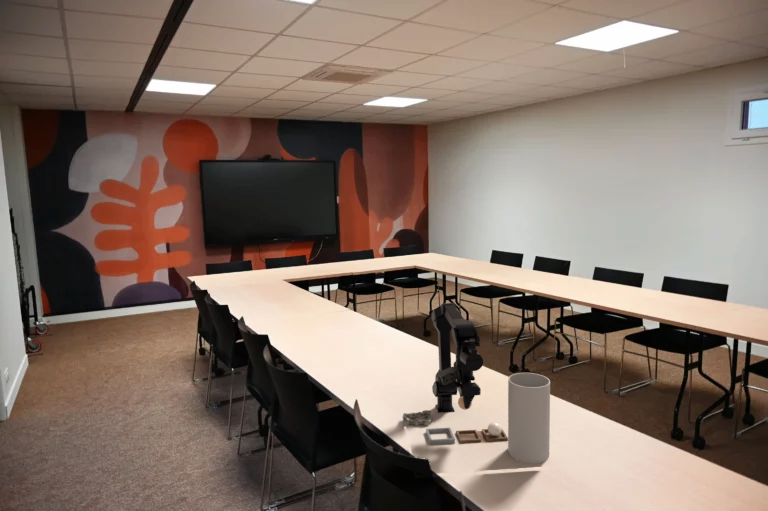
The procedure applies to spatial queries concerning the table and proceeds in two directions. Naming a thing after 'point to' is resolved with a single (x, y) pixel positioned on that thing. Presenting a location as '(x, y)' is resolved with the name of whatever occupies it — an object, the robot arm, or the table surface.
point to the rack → (479, 436)
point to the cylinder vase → (528, 417)
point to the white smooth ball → (494, 429)
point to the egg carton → (413, 418)
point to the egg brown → (462, 403)
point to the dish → (440, 441)
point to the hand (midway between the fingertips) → (464, 405)
